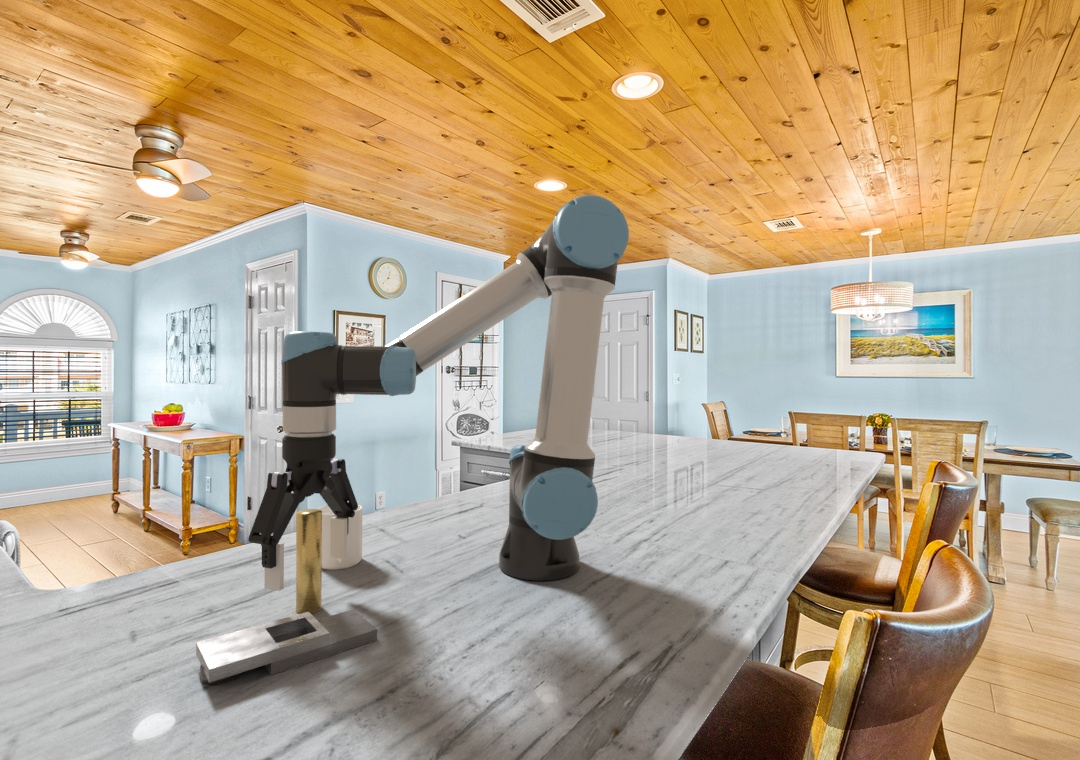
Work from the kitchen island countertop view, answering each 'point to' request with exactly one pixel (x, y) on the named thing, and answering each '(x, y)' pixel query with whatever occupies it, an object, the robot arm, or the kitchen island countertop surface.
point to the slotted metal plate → (281, 644)
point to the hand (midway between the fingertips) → (308, 572)
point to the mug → (352, 540)
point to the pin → (308, 561)
